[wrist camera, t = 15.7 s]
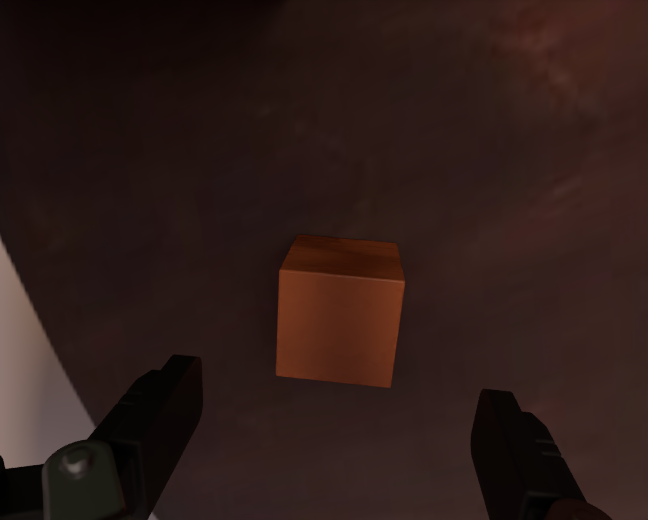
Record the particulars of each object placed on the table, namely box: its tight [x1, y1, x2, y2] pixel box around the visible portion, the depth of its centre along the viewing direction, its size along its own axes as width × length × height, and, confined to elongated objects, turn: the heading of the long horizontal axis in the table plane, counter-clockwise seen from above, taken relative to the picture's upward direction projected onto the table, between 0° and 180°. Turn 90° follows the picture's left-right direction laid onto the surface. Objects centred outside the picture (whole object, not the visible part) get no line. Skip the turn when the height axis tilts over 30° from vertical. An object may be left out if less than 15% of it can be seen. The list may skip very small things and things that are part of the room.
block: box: [276, 235, 405, 388], centre depth 19 cm, size 4×4×4 cm
